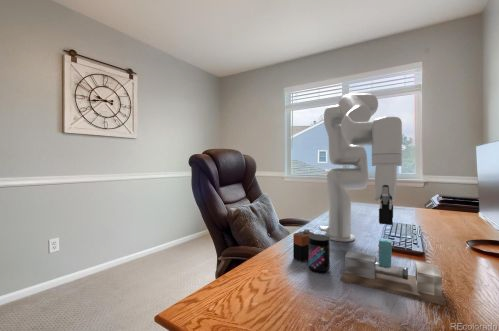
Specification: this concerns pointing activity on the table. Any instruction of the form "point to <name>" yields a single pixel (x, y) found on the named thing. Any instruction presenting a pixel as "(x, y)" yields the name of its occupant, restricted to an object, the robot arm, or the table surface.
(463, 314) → the table surface
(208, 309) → the table surface
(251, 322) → the table surface
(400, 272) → the l-shaped stand
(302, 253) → the battery
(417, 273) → the tube rig
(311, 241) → the supplement container
